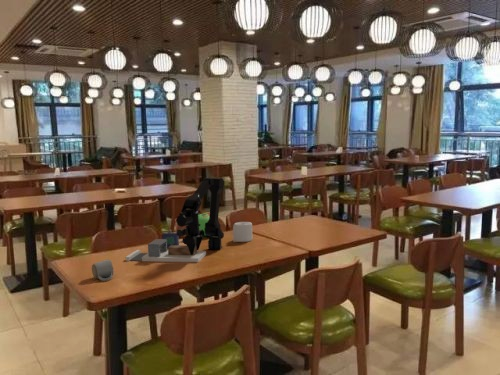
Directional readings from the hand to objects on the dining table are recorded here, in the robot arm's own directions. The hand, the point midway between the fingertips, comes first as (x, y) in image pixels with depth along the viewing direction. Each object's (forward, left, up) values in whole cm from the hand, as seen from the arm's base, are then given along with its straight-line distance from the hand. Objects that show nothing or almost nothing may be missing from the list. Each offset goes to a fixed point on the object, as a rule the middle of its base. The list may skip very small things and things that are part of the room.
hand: (194, 252), depth 229 cm
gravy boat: (+9, -51, -3) cm, 52 cm away
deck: (+15, 0, -3) cm, 16 cm away
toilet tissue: (-18, -39, -3) cm, 43 cm away
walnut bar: (+6, 0, -1) cm, 7 cm away
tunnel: (+20, 0, -1) cm, 20 cm away
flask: (+20, -19, -3) cm, 28 cm away
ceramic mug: (+32, +34, -3) cm, 47 cm away
